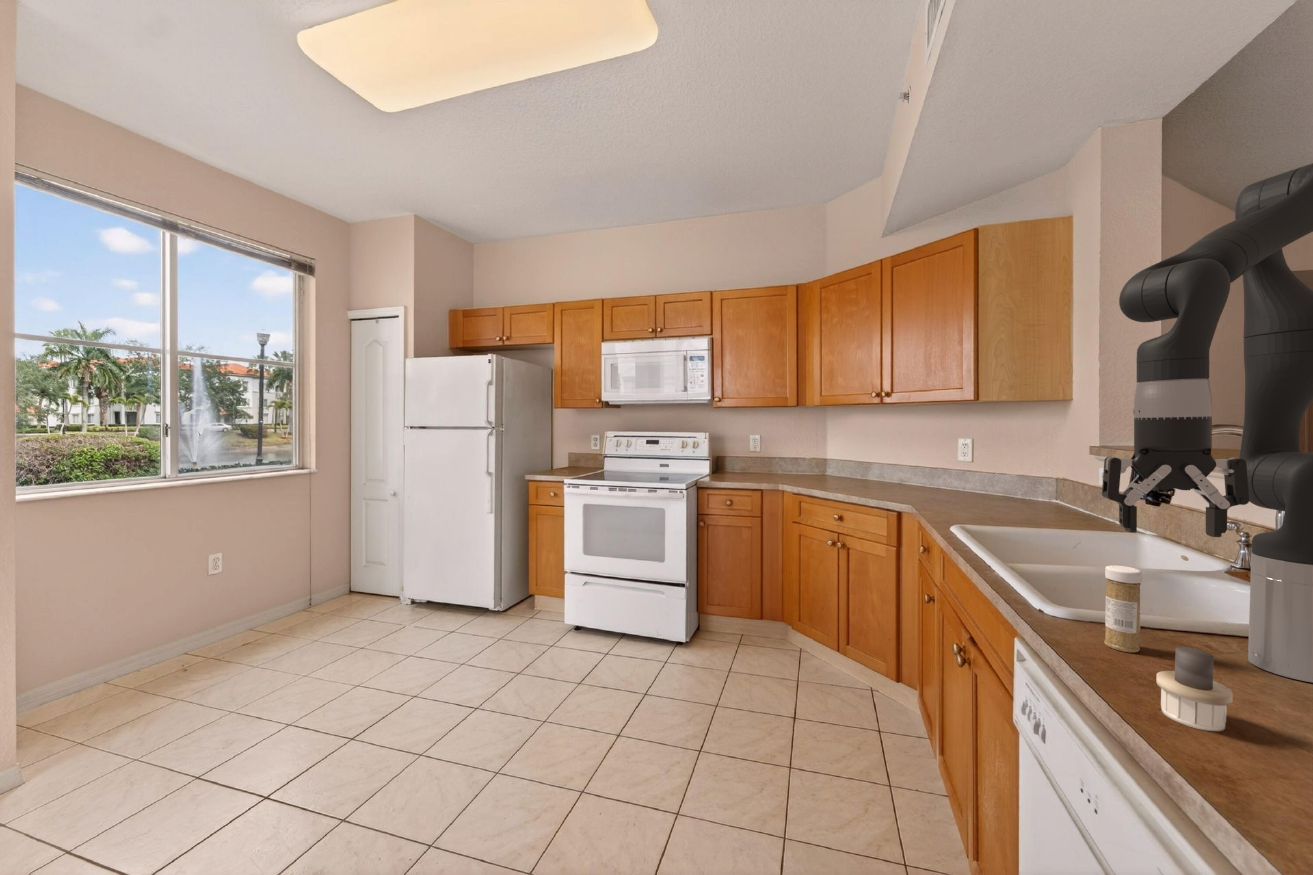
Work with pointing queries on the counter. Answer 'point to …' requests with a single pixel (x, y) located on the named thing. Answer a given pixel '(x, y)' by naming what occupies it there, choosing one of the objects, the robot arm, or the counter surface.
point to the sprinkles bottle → (1122, 608)
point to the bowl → (1193, 712)
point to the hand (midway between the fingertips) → (1171, 533)
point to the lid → (1194, 678)
